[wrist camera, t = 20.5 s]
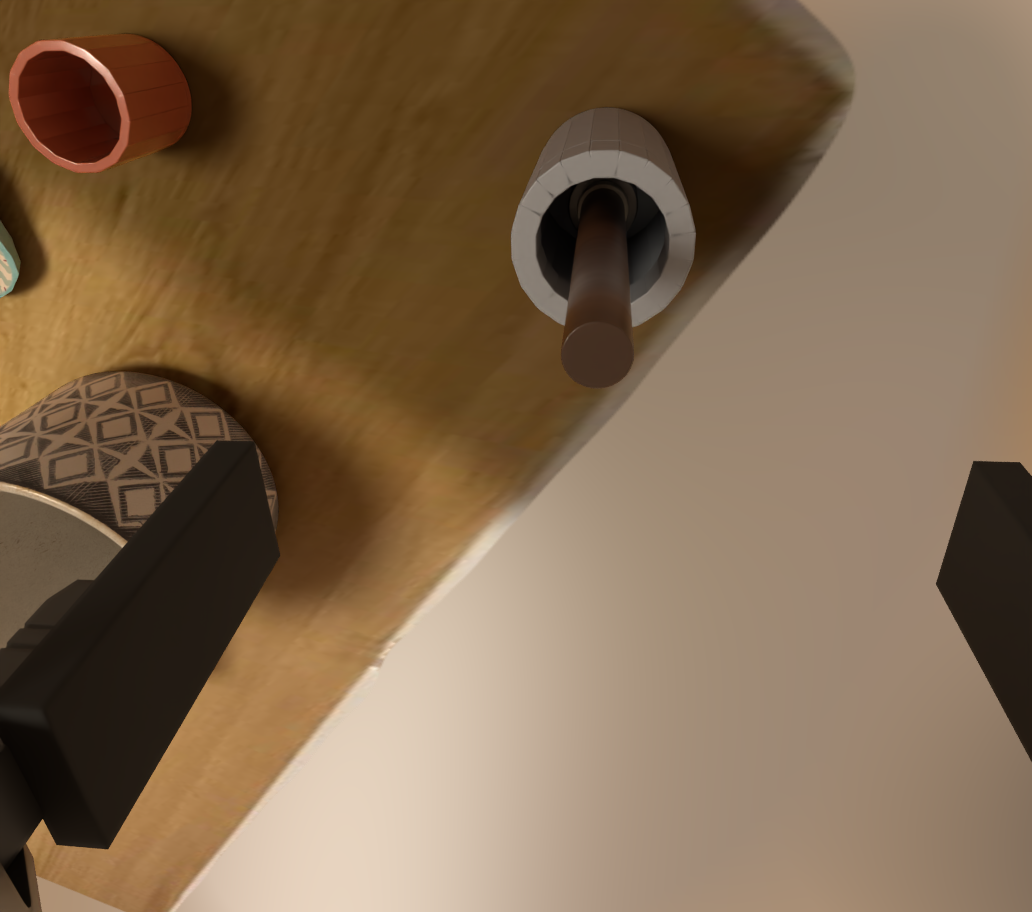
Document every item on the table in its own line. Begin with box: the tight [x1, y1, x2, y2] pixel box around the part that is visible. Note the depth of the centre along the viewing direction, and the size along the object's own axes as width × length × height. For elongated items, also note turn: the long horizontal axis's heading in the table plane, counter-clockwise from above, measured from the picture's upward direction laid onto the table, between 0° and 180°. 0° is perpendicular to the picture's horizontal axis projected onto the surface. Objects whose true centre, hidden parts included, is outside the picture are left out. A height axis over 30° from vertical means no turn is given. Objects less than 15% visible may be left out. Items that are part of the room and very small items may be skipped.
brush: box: [561, 178, 638, 388], centre depth 35 cm, size 4×4×25 cm
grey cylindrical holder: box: [511, 107, 696, 327], centre depth 40 cm, size 8×8×14 cm
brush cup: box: [9, 34, 192, 173], centre depth 43 cm, size 6×6×7 cm
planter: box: [0, 371, 279, 649], centre depth 53 cm, size 19×19×16 cm
